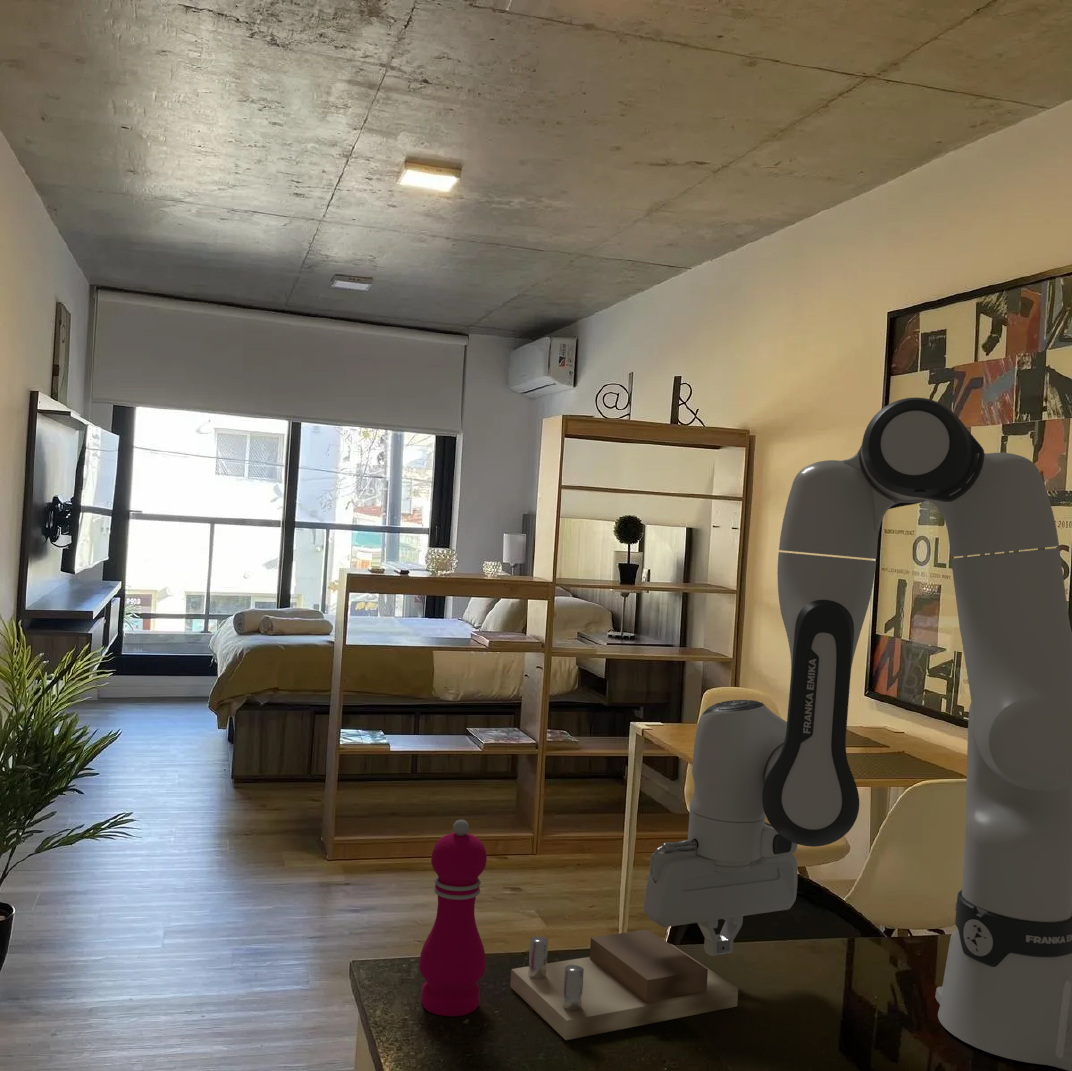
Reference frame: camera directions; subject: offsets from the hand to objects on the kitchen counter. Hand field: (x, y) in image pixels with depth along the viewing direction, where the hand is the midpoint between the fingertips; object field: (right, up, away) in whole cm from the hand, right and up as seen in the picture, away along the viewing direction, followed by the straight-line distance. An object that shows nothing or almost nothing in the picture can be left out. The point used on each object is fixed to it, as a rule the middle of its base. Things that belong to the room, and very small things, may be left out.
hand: (718, 952), depth 121 cm
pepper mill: (-31, -2, -10) cm, 33 cm away
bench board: (-12, -2, -6) cm, 14 cm away
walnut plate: (-9, -1, -5) cm, 10 cm away
